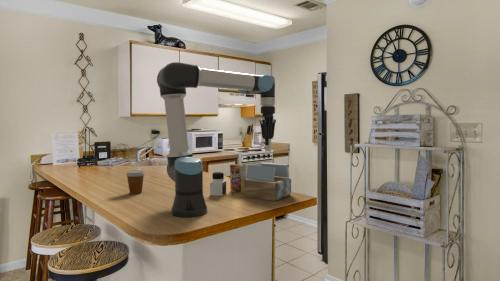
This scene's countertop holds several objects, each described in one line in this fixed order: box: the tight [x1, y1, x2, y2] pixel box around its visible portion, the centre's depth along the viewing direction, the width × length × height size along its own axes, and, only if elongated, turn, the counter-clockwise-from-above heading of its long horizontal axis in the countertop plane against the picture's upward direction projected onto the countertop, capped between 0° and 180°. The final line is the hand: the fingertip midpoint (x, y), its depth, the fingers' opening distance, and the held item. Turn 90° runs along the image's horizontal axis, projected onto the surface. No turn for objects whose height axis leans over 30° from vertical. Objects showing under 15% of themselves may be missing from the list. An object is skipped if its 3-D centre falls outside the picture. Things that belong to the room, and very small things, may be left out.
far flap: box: [260, 162, 290, 178], centre depth 178 cm, size 1×16×7 cm, turn 54°
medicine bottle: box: [209, 171, 227, 197], centre depth 176 cm, size 7×7×12 cm
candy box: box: [229, 163, 247, 194], centre depth 182 cm, size 9×4×15 cm, turn 46°
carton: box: [244, 176, 292, 202], centre depth 172 cm, size 16×20×9 cm
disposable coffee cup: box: [125, 169, 145, 195], centre depth 181 cm, size 10×10×12 cm
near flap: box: [246, 164, 276, 182], centre depth 166 cm, size 1×16×7 cm, turn 55°
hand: (268, 151), depth 172 cm, fingers closed
